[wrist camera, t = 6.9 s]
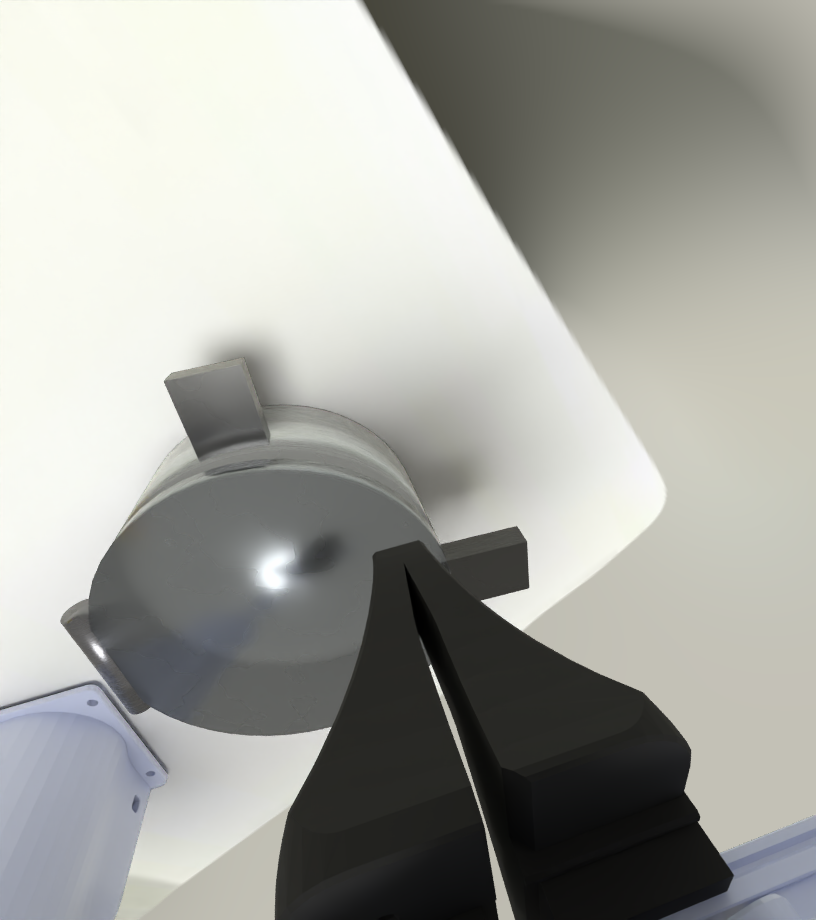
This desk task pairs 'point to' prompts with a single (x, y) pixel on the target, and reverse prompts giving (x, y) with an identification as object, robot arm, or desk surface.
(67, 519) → the desk surface
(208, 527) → the lid
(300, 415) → the pot
